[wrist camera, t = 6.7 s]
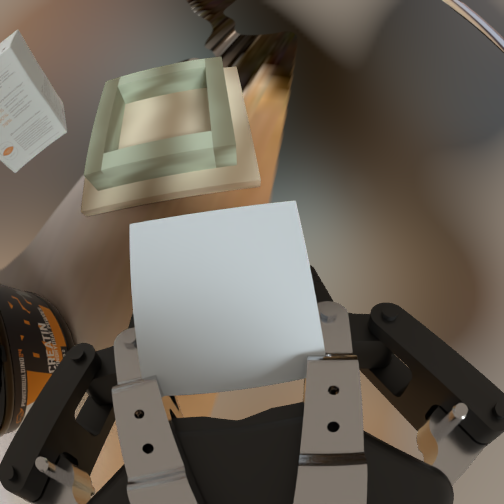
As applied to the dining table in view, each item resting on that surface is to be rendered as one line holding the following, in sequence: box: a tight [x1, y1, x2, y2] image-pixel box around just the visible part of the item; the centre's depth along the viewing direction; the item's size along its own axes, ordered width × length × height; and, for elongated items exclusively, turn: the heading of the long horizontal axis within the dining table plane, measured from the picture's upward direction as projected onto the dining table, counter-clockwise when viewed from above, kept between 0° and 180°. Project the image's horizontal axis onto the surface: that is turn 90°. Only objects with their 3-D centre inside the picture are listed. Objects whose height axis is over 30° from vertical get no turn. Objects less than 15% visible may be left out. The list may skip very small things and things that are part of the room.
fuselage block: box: [130, 201, 325, 396], centre depth 12 cm, size 4×4×11 cm
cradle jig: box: [81, 57, 261, 217], centre depth 20 cm, size 14×14×4 cm
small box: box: [0, 30, 67, 173], centre depth 16 cm, size 8×6×13 cm
